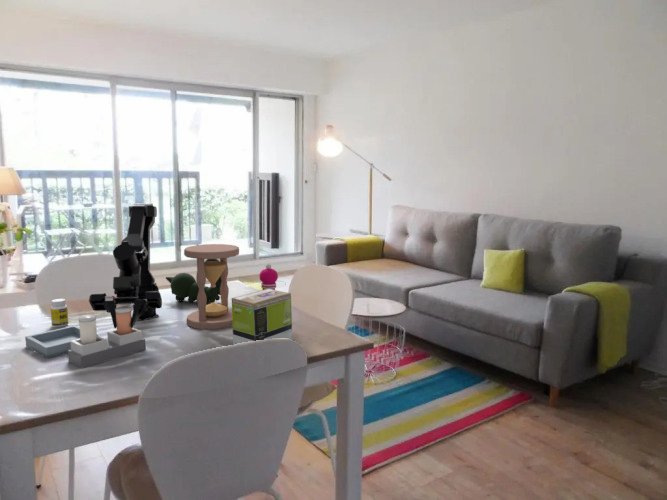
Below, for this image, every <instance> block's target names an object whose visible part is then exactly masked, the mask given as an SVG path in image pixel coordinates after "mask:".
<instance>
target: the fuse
mask: <svg viewBox="0 0 667 500" xmlns="http://www.w3.org/2000/svg"><path fill="white" fill-rule="evenodd" d="M77 319H78V327H79V328H80V342H81V344H83V345H86V344H90V343H94V342H97V335H98V334H97V333H98V331H97V315H96V314H83V315H80V316H78V318H77Z"/></svg>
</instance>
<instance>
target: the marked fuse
mask: <svg viewBox="0 0 667 500" xmlns="http://www.w3.org/2000/svg"><path fill="white" fill-rule="evenodd" d="M115 312H116V325H117V327H116V330H117V334H118V335H125V334H129V333H132V328H131V319H132V314H133V313H132V312H133V307H131V306H127V305H125V306H118V307H117V308H116V309H115Z"/></svg>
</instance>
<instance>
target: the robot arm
mask: <svg viewBox="0 0 667 500" xmlns="http://www.w3.org/2000/svg"><path fill="white" fill-rule="evenodd" d="M157 216H158V210H157V206H154V203H133V204H132V205H129V206H128V217H129V222H128V223H129V224H128V229H127V236H126V237H124V238H123V239H122V240H121V242H120V244H119V245H117V246H115V248H114V249H113V250H112V251H113V252H112V254H113V258H114V261H115V263H116V267H117V269H119V273H118V274H119V275H118V276H114V277H112V278H113V280H112V289H113V294H114V295H116V296H114V295H107V293H106V292H93V293H91V294H90V295H89V298H88V302H89V304H90V306H91V309H92V311H95V312H96V311H98V312H103V311H106V313H107V314H108V313H110V315H111V320H112V325H113V328H114V329H117V325H116V312H115V309H116V308H118V307H117V305H131V304H133V305H132V313H131V314H132V319H131V328H134V326H135V325H136V323H137V322H138V320H140V321H145V320H148V319H153V318H156V317H159V314H158V313H157V309H161V308H162V307H163V306H162V305H163V299H162V296H161V293H160V290H159V287H158V284H157V283H156V282H155V281H156V280H155V277H154V275H153V273H152V272H151V229H152V228H153V226H154V224H155V222H156V218H157Z"/></svg>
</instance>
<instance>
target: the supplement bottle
mask: <svg viewBox="0 0 667 500" xmlns="http://www.w3.org/2000/svg"><path fill="white" fill-rule="evenodd" d="M68 311H69V310H68V306H67V301H66V299H65V298H56V299H52V300H51V307H50V316H51V318H50V319H51V326H52V327H53V328H65V327H67V326H68V325H69V313H68Z"/></svg>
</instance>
